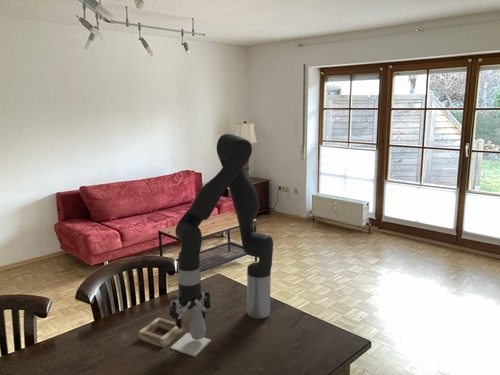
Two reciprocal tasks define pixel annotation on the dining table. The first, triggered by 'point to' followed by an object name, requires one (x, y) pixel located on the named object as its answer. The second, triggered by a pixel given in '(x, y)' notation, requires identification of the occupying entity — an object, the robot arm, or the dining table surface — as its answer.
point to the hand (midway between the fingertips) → (190, 323)
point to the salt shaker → (197, 323)
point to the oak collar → (155, 339)
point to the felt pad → (190, 345)
